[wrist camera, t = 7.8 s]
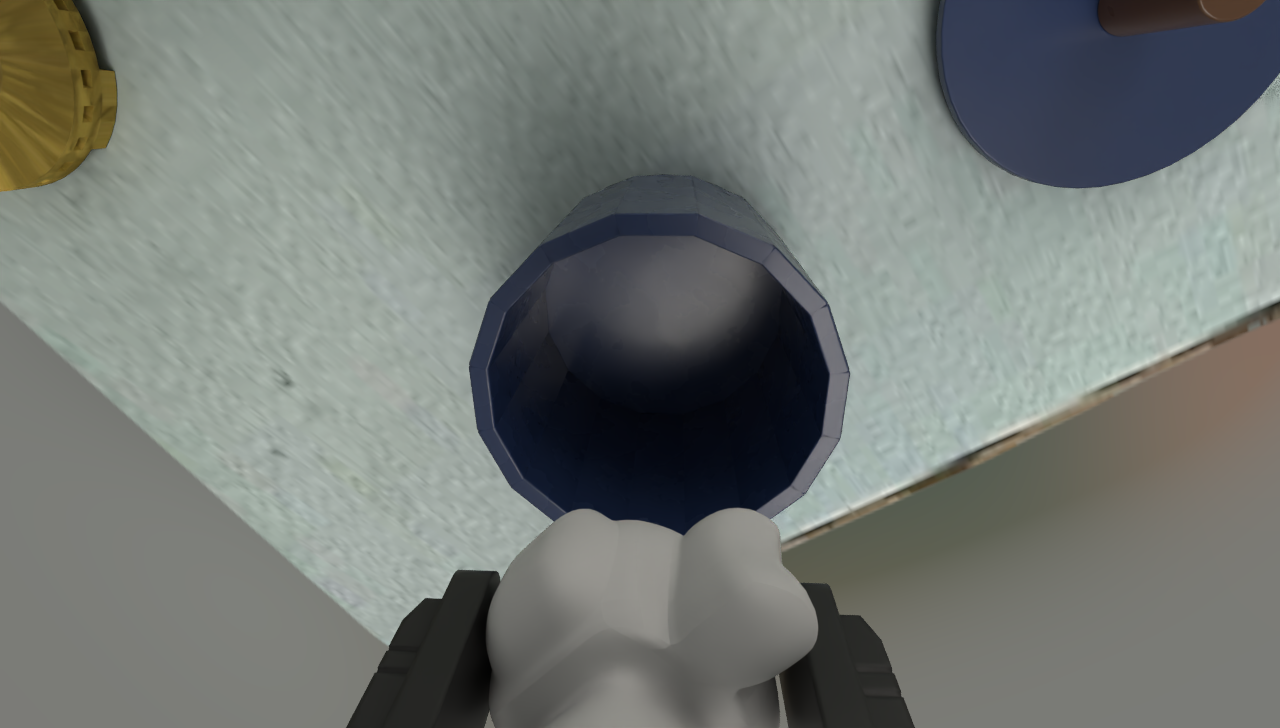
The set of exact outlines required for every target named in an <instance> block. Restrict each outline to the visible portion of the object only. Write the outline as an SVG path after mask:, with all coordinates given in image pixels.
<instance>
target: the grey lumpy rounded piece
mask: <svg viewBox="0 0 1280 728" xmlns="http://www.w3.org/2000/svg"><path fill="white" fill-rule="evenodd" d="M817 635H818V621H817V616H816V612H815V609H814V607H813V605H812V603H811V600H810V598H809V596H808V594H807V592H806V590H805V589H804V588H803V587H802V585H801V584H800V583H799V582H798V580H797V579H796V578H795V577H794V576H793V575H792V573H790V572H789V571H788V570H787V569H786V568H785V567H784V566H783V565H782V556H781V541H780V532H779V529H778V527H777V526H776V524H775V523H773V522H772V521H771V520H770V519H769V518H767V517H766V516H764V515H762V514H760V513H758V512H756V511H753V510H751V509H744V508H729V509H724V510H721V511H717V512H715V513H713V514H711V515H709V516H707V517H706V518H704V519H702V520H701V521H699V522H698V523H696V524H695V525H694V526H693V527H692V528H691V529H690V530H689V531H688V532H687V533H686V534H685V535H684V536H683V535H681V534H679V533H677V532H675V531H673V530H671V529H668V528H666V527H663V526H660V525H657V524H653V523H649V522H645V521H638V520H620V521H613V520H611V519H609V518H607V517H606V516H604V515H603V514H601V513H599V512H597V511H595V510H592V509H578V510H574V511H571V512H569V513H567V514H565V515H563V516H561V517H560V518H559V519H557V520H556V521H555V522H553V523H552V524H551V525H550V526H549V527H548V528H546V529H545V530H544V531H543V532H542V533H541V534H540V535H539V536H538V537H537V538H535V539H534V540H533V541H532V542H531V543H530V544H529V545H528V546H527V547H526V548H524V549H523V550H522V551H521V552H520V553H519V554H518V555H517V557H516V558H515V559H514V560H513V561H512V563H511V564H510V566H509V567H508V569H507V571H506V573H505V574H504V576H503V578H502V580H501V582H500V584H499V586H498V588H497V590H496V592H495V594H494V596H493V599H492V602H491V605H490V608H489V612H488V617H487V623H486V647H487V653H488V657H489V661H490V664H491V668H492V673H491V679H490V689H489V710H490V715H491V718H492V721H493V723H494V726H495V728H779V726H780V710H779V700H778V691H777V686H776V680H775V676H776V675H778V674H780V673H781V672H783V671H784V670H786V669H787V668H789V667H790V666H792V665H793V664H795V663H796V662H797V661H799V660H800V659H801V658H803V657H804V656H805V655H806V654H807V653H808V652H809V651H810V650H811V649H812V648H813V646H814V644H815V642H816V640H817Z"/></svg>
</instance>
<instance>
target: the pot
mask: <svg viewBox="0 0 1280 728" xmlns="http://www.w3.org/2000/svg"><path fill="white" fill-rule="evenodd" d="M469 365H470V366H469V372H470V379H471V387H472V394H473V402H474V409H475V417H476V424H477V430H478V433H479V434H480V436H481V438H482V439H483V441H484V443H485V445H486V446H487V448H488V450H489V451H490V453H491V455H492V456H493V458H494V460H495V461H496V463H497V465H498V466H499V468H500V470H501V471H502V473H503V475H504V476H505V478H506V480H507V482H508V483H509V485H510V486H511V488H513V489H514V490H515V491H516V492H518V493H519V494H520V495H521V496H523V497H524V498H525V499H526V500H528V501H529V502H530V503H531V504H533V505H534V506H535V507H536V508H538V509H539V510H540V511H541V512H543V513H544V514H545V515H546V516H548V517H549V518H550V519H552V520H553V521H554V522H555V521H556V520H557V519H559V518H560V517H561V516H563V515H565V514H567V513H569V512H571V511H574V510H578V509H592V510H595V511H597V512H599V513H601V514H603V515H604V516H606V517H607V518H609V519H611V520H613V521H620V520H638V521H645V522H649V523H653V524H657V525H660V526H663V527H666V528H668V529H671V530H673V531H675V532H677V533H679V534H681V535H683V536H684V535H685V534H686V533H687V532H688V531H689V530H690V529H691V528H692V527H693V526H694V525H695V524H696V523H698V522H699V521H701V520H702V519H704V518H706V517H707V516H709V515H711V514H713V513H715V512H717V511H721V510H724V509H729V508H744V509H751V510H753V511H756V512H758V513H760V514H762V515H764V516H766V517H767V518H769V519H772V518H773V517H774V516H776V515H777V514H779V513H780V512H781V511H783V510H784V509H786V508H787V507H788V506H790V505H791V504H792V503H794V502H795V501H797V500H798V499H799V498H801V497H802V496H804V494H806V492H807V491H808V489H809V487H810V486H811V484H812V483H813V481H814V480H815V478H816V476H817V475H818V473H819V472H820V470H821V469H822V467H823V465H824V464H825V462H826V461H827V459H828V458H829V456H830V455H831V453H832V451H833V450H834V448H835V447H836V445H837V444H838V442H839V440H840V438H841V432H842V425H843V418H844V411H845V405H846V398H847V391H848V384H849V377H850V372H849V366H848V363H847V360H846V357H845V354H844V351H843V347H842V344H841V341H840V338H839V335H838V332H837V328H836V325H835V322H834V319H833V316H832V313H831V309H830V306H829V304H828V302H827V300H826V299H825V298H824V296H823V295H822V294H821V292H820V291H819V290H818V288H817V287H816V286H815V284H814V283H813V282H812V280H811V279H810V278H809V276H808V275H807V274H806V272H805V271H804V269H803V268H802V267H801V265H800V264H799V263H798V261H797V260H796V259H795V257H794V256H793V255H792V253H791V252H790V251H789V249H788V248H787V247H786V245H785V244H784V243H783V241H782V240H781V239H780V237H779V236H778V235H777V234H776V233H775V232H774V231H773V230H772V228H771V227H770V226H769V225H768V224H767V223H766V222H765V221H764V220H763V219H762V217H761V216H760V215H759V214H758V213H757V212H756V211H755V210H754V209H753V208H752V207H751V206H750V205H749V204H748V202H747V201H746V200H745V199H743V198H742V197H740V196H738V195H735V194H733V193H731V192H729V191H727V190H725V189H723V188H721V187H719V186H717V185H714V184H712V183H709V182H706V181H703V180H701V179H698V178H696V177H694V176H680V175H665V174H662V175H648V176H633V177H631V178H628V179H626V180H624V181H621V182H619V183H616V184H613V185H610V186H608V187H606V188H604V189H603V190H601V191H599V192H596V193H594V194H592V195H589V196H587V197H585V198H584V199H582V200H581V202H580V203H579V204H578V205H577V206H576V207H575V208H574V209H573V210H572V211H571V212H570V213H569V214H568V215H567V216H566V217H565V219H564V220H563V221H562V222H561V223H560V224H559V225H558V226H557V227H556V228H555V229H554V230H553V231H552V232H551V233H550V234H549V236H548V237H547V238H546V239H545V240H544V241H543V242H542V243H541V244H540V245H539V246H538V247H537V248H536V249H535V250H534V252H533V253H532V254H531V255H530V256H529V257H528V258H527V259H526V260H525V261H524V262H523V263H522V265H521V266H520V267H519V268H518V269H517V270H516V271H515V272H514V273H513V274H512V275H511V276H510V278H509V279H508V280H507V281H506V282H505V283H504V284H503V285H502V286H501V287H500V288H499V289H498V291H497V292H496V293H495V294H494V295H493V296H492V297H491V298H490V301H489V302H488V305H487V308H486V312H485V315H484V318H483V321H482V324H481V327H480V331H479V334H478V337H477V340H476V343H475V347H474V350H473V353H472V356H471V359H470V362H469Z"/></svg>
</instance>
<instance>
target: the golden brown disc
mask: <svg viewBox="0 0 1280 728" xmlns="http://www.w3.org/2000/svg"><path fill="white" fill-rule="evenodd" d="M116 109H117V87H116V80H115V72H114V71H110V70H103V69H99V66H98V62H97V58H96V54H95V50H94V47H93V45H92V42H91V39H90V36H89V33H88V31H87V29H86V27H85V24H84V22H83V20H82V18H81V16H80V14H79V12H78V10H77V8H76V6H75V5H74V3H73V1H72V0H0V192H1V191H10V190H17V189H25V188H32V187H39V186H43V185H47V184H50V183H53V182H56V181H58V180H60V179H62V178H64V177H66V176H67V175H68V174H70V173H71V172H73V171H74V170H75V169H76V168H77V167H78V166H79V165H80V164H81V163H82V162H83V161H84V160H85V158H86V157H87V155H88V154H89V152H90V151H91V149H101V148H106V146H107V144H108V142H109V139H110V137H111V134H112V131H113V127H114V123H115V117H116Z"/></svg>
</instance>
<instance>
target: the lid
mask: <svg viewBox="0 0 1280 728" xmlns="http://www.w3.org/2000/svg"><path fill="white" fill-rule="evenodd" d="M936 49H937V63H938V70H939V77H940V82H941V86H942V89H943V93H944V96H945V100H946V103H947V105H948V107H949V109H950V112H951V114H952V116H953V118H954V120H955V122H956V124H957V125H958V127H959V128H960V130H961V131H962V133H963V134H964V136H965V137H966V139H967V140H968V141H969V142H970V143H971V144H972V145H973V146H974V148H975V149H976V150H977V151H978V152H979V153H980V154H981V155H983V156H984V157H985V158H987V159H988V160H989V161H990V162H992V163H993V164H994V165H996V166H997V167H999V168H1001V169H1003V170H1005V171H1006V172H1008V173H1010V174H1012V175H1014V176H1017V177H1020V178H1022V179H1025V180H1028V181H1031V182H1035V183H1040V184H1044V185H1049V186H1054V187H1064V188H1092V187H1102V186H1108V185H1113V184H1118V183H1123V182H1127V181H1130V180H1133V179H1136V178H1140V177H1143V176H1146V175H1149V174H1151V173H1153V172H1156V171H1158V170H1160V169H1163V168H1165V167H1167V166H1170V165H1172V164H1173V163H1175V162H1177V161H1179V160H1181V159H1183V158H1184V157H1186V156H1188V155H1190V154H1192V153H1193V152H1195V151H1196V150H1198V149H1199V148H1201V147H1202V146H1204V145H1205V144H1207V143H1208V142H1210V141H1211V140H1212V139H1214V138H1215V137H1217V136H1218V135H1219V134H1220V133H1222V132H1223V131H1224V130H1225V129H1226V128H1228V127H1229V126H1230V125H1231V124H1232V123H1234V122H1235V121H1236V120H1237V119H1238V118H1239V117H1240V116H1241V115H1242V114H1243V113H1244V112H1245V111H1246V110H1247V109H1248V108H1249V107H1250V106H1251V105H1253V104H1254V103H1255V102H1256V101H1257V100H1258V99H1259V97H1260V96H1261V95H1262V94H1263V93H1264V91H1265V90H1266V89H1267V88H1268V87H1269V85H1270V84H1271V83H1272V82H1273V81H1274V79H1275V78H1276V77H1277V76H1278V74H1279V73H1280V0H940V5H939V12H938V21H937V30H936Z"/></svg>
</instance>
